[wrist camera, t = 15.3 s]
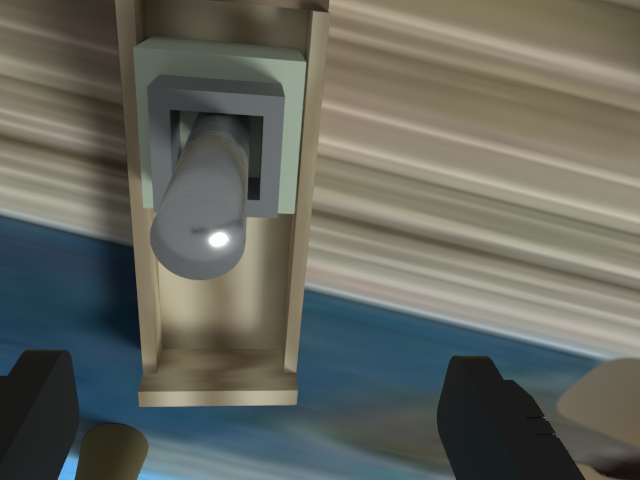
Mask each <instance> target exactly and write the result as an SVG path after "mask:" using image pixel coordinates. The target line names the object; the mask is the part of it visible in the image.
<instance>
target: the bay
mask: <svg viewBox="0 0 640 480" xmlns="http://www.w3.org/2000/svg"><path fill="white" fill-rule="evenodd" d="M115 7H116V20H117V33H118V46H119V60H120V73H121V86H122V99H123V112H124V126H125V139H126V152H127V165H128V178H129V191H130V205H131V218H132V231H133V244H134V257H135V271H136V284H137V297H138V310H139V323H140V337H141V350H142V363H143V376H142V380H141V383H140V387H139V391H138V396H139V407H161V406H243V405H296V404H297V394H298V387H297V377H296V368H297V358H298V347H299V337H300V326H301V316H302V305H303V295H304V284H305V274H306V263H307V253H308V242H309V232H310V221H311V211H312V200H313V190H314V179H315V169H316V158H317V148H318V137H319V127H320V116H321V106H322V95H323V85H324V74H325V64H326V53H327V43H328V32H329V22H330V13H329V12H328V8H329V0H115ZM152 36H162V37H173V38H185V39H196V40H207V41H219V42H230V43H242V44H253V45H264V46H276V47H287V48H298V49H299V51H300V52H301V54H302V56H303V57H304V59H305V61H306V73H305V85H304V98H303V110H302V123H301V136H300V148H299V161H298V174H297V186H296V199H295V212H294V214H283V213H278V217H277V218H258V217H247V219H246V243H245V249H244V253H243V255H242V257H241V259H240V261H239V262H238V263H237V265H236V266H235V267H234V268H233V269H232V270H230V271H229V272H227V273H226V274H224V275H222V276H220V277H217V278H214V279H209V280H191V279H186V278H183V277H180V276H178V275H175V274H174V273H172V272H170V271H169V270H167V269H166V268H165V267H164V266H163V265H162V264H161V263H160V262H159V261H158V260H157V258H156V256H155V255H154V253H153V250H152V248H151V244H150V230H151V226H152V223H153V220H154V218H155V215H156V213H154V208H143V194H142V179H141V163H140V147H139V132H138V116H137V100H136V85H135V69H134V53H133V47H135V46H137V45H138V44H140V43H142V42H144V41H145V40H147V39H149V38H150V37H152Z"/></svg>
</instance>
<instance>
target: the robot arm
mask: <svg viewBox="0 0 640 480" xmlns="http://www.w3.org/2000/svg"><path fill="white" fill-rule="evenodd" d="M78 421H79V404H78V397H77V391H76V384H75V378H74V371H73V365H72V359H71V355H70V353H69V351H67V350H26V351H24V352H23V353H22V355H21V356H20V358H19V359H18V361H17V362H16V364H15V365H14V367H13V368H12V370H11V371H10V373H9V374H8V376H0V480H58V477H59V475H60V472H61V470H62V468H63V465H64V463H65V460H66V458H67V455H68V453H69V451H70V448H71V446H72V443H73V441H74V438H75V435H76V432H77V427H78ZM437 426H438V431H439V435H440V438H441V441H442V444H443V446H444V449H445V451H446V454H447V457H448V459H449V462H450V464H451V467H452V470H453V472H454V475H455V477H456V480H586V479H585V478H584V476H583V475H582V473H581V472H580V470H579V469H578V467H577V465H576V464H575V462H574V461H573V459H572V458H571V456H570V455H569V453H568V451H567V450H566V448H565V447H564V445H563V444H562V442H561V441H560V439H559V438H557V437H556V433H555V431H554V430H553V428H552V427H551V425H550V423H549V422H548V421H546V420H545V416H544V414H543V413H542V411H541V409H540V408H539V406H538V405H537V403H536V402H535V400H534V399H533V397H532V396H531V395H530V394H528V393H527V392H526V391H525V390H524V389H523V388H521V387H520V386H519V385H518V384H517V383H516V382H514V381H513V380H504V379H503V378H502V376H501V374H500V373H499V371H498V369H497V368H496V366H495V364H494V363H493V361H492V360H491V359H490V358H489V357H488V356H453V357H452V358H451V360H450V362H449V365H448V369H447V373H446V377H445V381H444V385H443V389H442V392H441V396H440V400H439V404H438V409H437Z"/></svg>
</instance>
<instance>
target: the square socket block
mask: <svg viewBox="0 0 640 480" xmlns="http://www.w3.org/2000/svg"><path fill="white" fill-rule="evenodd" d="M133 53H134V69H135V85H136V100H137V116H138V132H139V147H140V163H141V179H142V194H143V208H154V213H157V211H158V208H159V206H160V203H161V201H162V199H163V196H164V194H165V192H166V189H167V187H168V184H169V182H170V180H171V177H172V175H173V172H174V170H175V168H176V165H177V163H178V160H179V158H180V156H181V153H182V151H183V148H184V146H185V144H186V141H187V139H188V136H189V134H190V132H191V129H192V127H193V124H194V122H195V120H196V117H197V115H198V113H199V112H210V113H225V114H239V115H247V116H248V118H249V122H250V143H249V168H248V194H247V217H258V218H277V217H278V213H283V214H294V212H295V199H296V186H297V174H298V161H299V148H300V136H301V123H302V110H303V98H304V85H305V73H306V61H305V59H304V57H303V56H302V54H301V52H300V51H299V49H298V48H287V47H276V46H264V45H253V44H242V43H230V42H219V41H207V40H196V39H185V38H173V37H162V36H152V37H150V38H149V39H147V40H145V41H144V42H142V43H140V44H138V45H137V46H135V47H133Z"/></svg>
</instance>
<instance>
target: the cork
mask: <svg viewBox="0 0 640 480" xmlns="http://www.w3.org/2000/svg"><path fill="white" fill-rule="evenodd" d="M147 452H148V443H147V440H146V438H145V437H144V436H143V434H142V433H140V432H139V431H138V430H136V429H135V428H132V427H130V426H127V425H122V424H115V423H114V424H104V425H101V426H98V427H95V428H93V429H92V430H90V431H89V432H88V433H87V434H86V435H85V437H84V438H83V441H82V446H81V451H80V456H79V461H78V466H77V471H76V476H75V480H137V478H138V475H139V473H140V470H141V468H142V465H143V463H144V460H145V458H146V455H147Z"/></svg>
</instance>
